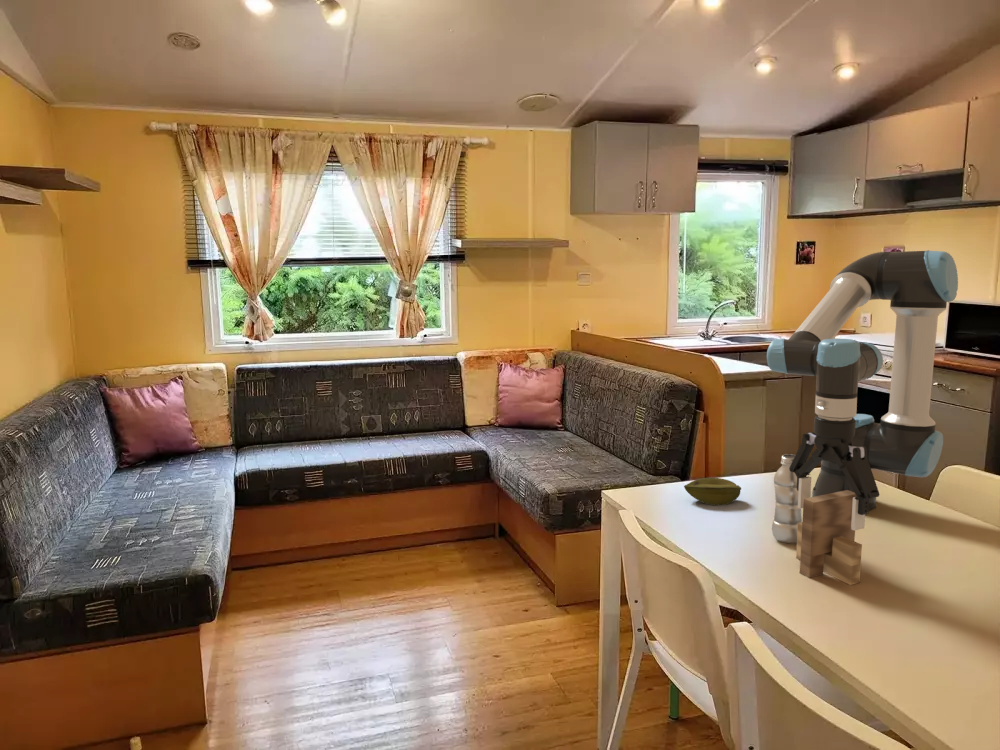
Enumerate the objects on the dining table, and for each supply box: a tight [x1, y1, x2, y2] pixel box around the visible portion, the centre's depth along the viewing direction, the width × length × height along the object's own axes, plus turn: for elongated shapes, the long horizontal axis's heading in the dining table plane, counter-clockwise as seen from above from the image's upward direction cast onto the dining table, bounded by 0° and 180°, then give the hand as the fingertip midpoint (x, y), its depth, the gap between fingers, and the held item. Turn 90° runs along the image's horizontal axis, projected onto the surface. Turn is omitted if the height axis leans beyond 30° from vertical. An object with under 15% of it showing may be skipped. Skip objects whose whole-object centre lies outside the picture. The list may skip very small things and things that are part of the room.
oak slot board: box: [795, 521, 863, 586], centre depth 146 cm, size 2×14×8 cm, turn 22°
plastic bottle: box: [771, 453, 803, 544], centre depth 160 cm, size 6×7×20 cm
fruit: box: [683, 477, 742, 507], centre depth 188 cm, size 11×12×7 cm
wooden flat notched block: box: [799, 490, 857, 579], centre depth 145 cm, size 12×2×16 cm, turn 113°
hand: (829, 517), depth 145 cm, fingers open, 13 cm apart
